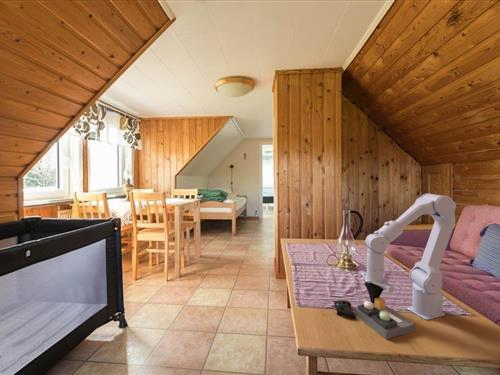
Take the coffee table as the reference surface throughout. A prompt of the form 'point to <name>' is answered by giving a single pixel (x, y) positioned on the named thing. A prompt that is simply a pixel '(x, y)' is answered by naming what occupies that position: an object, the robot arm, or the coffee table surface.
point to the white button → (368, 305)
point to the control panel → (385, 329)
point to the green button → (385, 316)
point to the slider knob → (379, 303)
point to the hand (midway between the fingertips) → (374, 302)
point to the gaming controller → (344, 309)
